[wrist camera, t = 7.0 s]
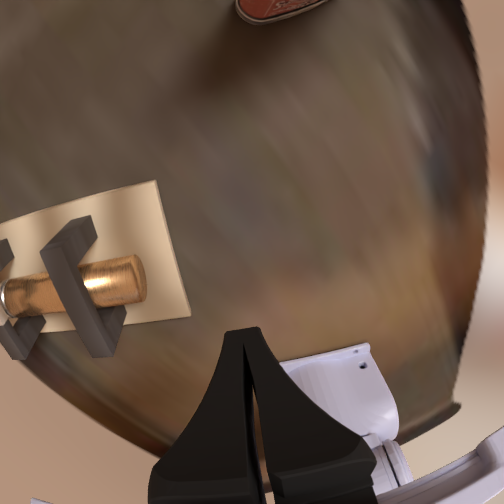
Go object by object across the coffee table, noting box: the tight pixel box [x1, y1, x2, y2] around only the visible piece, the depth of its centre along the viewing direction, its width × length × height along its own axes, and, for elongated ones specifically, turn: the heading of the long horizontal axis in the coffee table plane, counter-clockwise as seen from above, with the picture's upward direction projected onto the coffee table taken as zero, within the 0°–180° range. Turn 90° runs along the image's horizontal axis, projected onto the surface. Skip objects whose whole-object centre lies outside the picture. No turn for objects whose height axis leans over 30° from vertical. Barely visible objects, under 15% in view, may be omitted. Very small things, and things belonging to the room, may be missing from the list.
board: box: [0, 180, 191, 360], centre depth 18 cm, size 18×10×5 cm, turn 97°
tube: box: [0, 255, 147, 319], centre depth 18 cm, size 14×3×3 cm, turn 97°
